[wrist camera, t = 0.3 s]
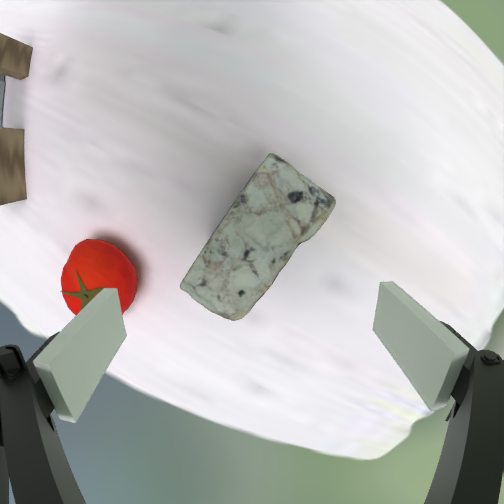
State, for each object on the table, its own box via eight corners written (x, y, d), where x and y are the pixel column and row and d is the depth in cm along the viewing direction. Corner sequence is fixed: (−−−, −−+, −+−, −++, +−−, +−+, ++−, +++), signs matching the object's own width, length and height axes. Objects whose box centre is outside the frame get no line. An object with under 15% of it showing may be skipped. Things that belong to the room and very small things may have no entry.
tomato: (96, 312, 44) (68, 344, 34) (74, 238, 41) (37, 256, 31) (156, 305, 44) (136, 341, 34) (136, 224, 41) (106, 242, 31)
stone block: (252, 156, 39) (261, 143, 19) (296, 183, 40) (345, 197, 20) (203, 240, 41) (171, 300, 22) (246, 264, 43) (250, 341, 23)
